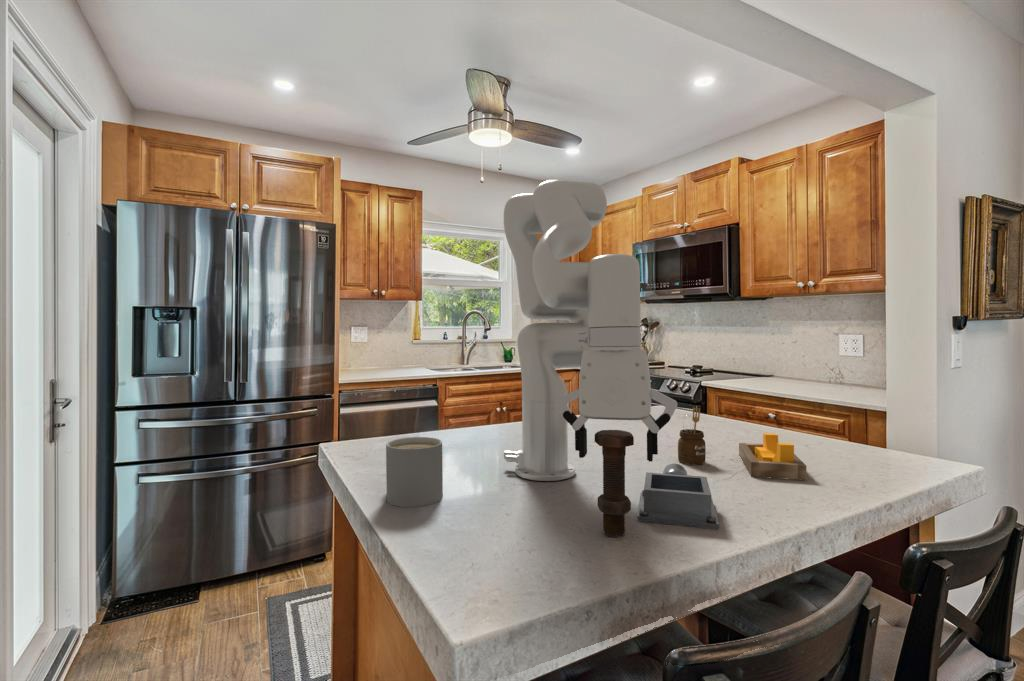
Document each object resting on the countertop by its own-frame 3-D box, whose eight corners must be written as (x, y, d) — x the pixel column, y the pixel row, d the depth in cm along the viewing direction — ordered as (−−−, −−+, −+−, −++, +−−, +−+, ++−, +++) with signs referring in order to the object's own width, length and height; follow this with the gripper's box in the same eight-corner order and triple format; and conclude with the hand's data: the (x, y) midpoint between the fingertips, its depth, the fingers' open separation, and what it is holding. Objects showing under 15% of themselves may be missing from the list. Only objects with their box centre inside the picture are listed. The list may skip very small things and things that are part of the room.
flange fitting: (637, 521, 79) (637, 490, 79) (642, 486, 97) (642, 461, 97) (719, 529, 76) (719, 497, 76) (708, 491, 94) (709, 465, 94)
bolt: (592, 527, 77) (592, 429, 77) (624, 525, 78) (624, 428, 77) (602, 542, 72) (602, 437, 71) (637, 541, 72) (637, 436, 72)
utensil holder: (673, 462, 114) (673, 409, 114) (684, 457, 119) (684, 406, 119) (699, 467, 110) (700, 412, 110) (709, 461, 115) (709, 408, 115)
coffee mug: (449, 502, 89) (449, 445, 89) (393, 510, 85) (392, 451, 85) (429, 481, 101) (428, 431, 101) (378, 488, 97) (377, 436, 97)
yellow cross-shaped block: (754, 460, 116) (754, 432, 116) (775, 461, 115) (775, 433, 115) (771, 475, 104) (771, 444, 104) (793, 476, 104) (794, 445, 104)
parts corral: (751, 476, 103) (751, 462, 103) (738, 455, 120) (738, 442, 120) (806, 480, 100) (806, 465, 100) (785, 458, 117) (785, 445, 117)
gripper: (550, 341, 73) (552, 460, 73) (677, 339, 68) (679, 467, 68) (561, 341, 80) (562, 449, 80) (675, 339, 75) (677, 455, 75)
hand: (616, 457), depth 74 cm, fingers open, 9 cm apart
